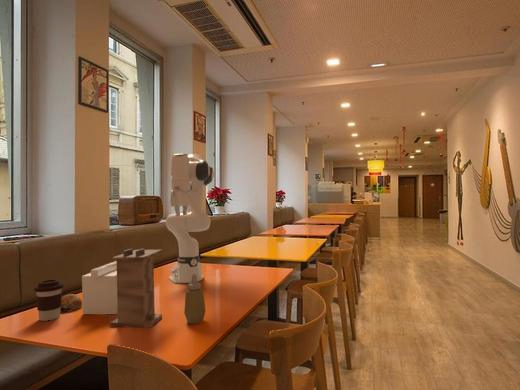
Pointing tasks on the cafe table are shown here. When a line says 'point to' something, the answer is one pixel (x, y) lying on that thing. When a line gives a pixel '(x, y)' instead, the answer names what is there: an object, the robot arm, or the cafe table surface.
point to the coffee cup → (49, 299)
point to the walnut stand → (135, 289)
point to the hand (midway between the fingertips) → (181, 215)
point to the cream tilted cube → (100, 294)
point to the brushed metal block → (104, 269)
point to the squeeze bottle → (194, 302)
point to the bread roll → (70, 302)
